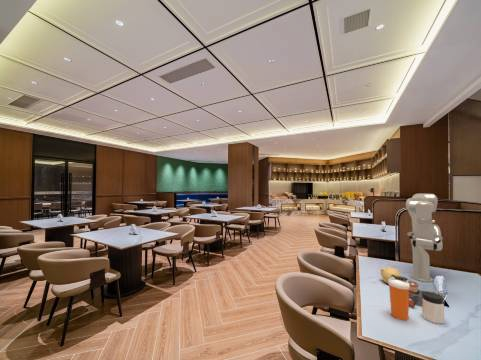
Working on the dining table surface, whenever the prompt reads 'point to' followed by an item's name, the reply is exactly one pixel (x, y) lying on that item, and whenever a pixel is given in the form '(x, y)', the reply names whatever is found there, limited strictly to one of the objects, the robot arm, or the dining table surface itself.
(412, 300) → the valve body
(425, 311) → the jar
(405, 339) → the dining table surface
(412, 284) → the pipe stub
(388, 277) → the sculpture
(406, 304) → the shaker bottle
